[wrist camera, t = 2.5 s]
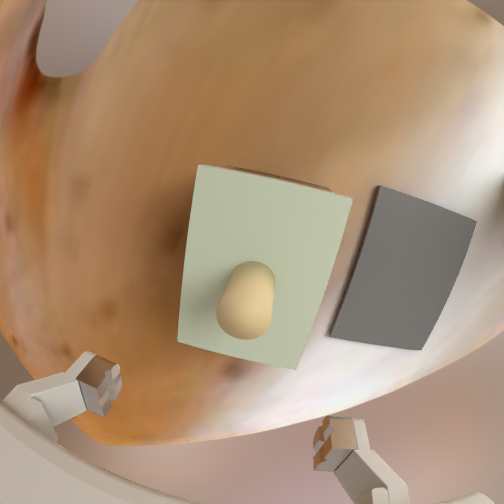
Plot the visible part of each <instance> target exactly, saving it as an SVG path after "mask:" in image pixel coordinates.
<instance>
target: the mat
mask: <svg viewBox="0 0 504 504" xmlns="http://www.w3.org/2000/svg"><path fill="white" fill-rule="evenodd" d="M475 226H476V221H474V220H472V219H469V218H467V217H465V216H462V215H460V214H457V213H455V212H452V211H450V210H447V209H445V208H442V207H440V206H437V205H434V204H432V203H429V202H426V201H423V200H421V199H418V198H415V197H412V196H409V195H406V194H404V193H401V192H398V191H395V190H392V189H388V188H385V187H382V186H378V190H377V193H376V197H375V201H374V205H373V208H372V212H371V215H370V219H369V222H368V225H367V229H366V232H365V235H364V239H363V242H362V245H361V248H360V251H359V254H358V257H357V260H356V263H355V266H354V269H353V272H352V275H351V278H350V281H349V284H348V286H347V289H346V292H345V295H344V297H343V300H342V303H341V305H340V308H339V310H338V313H337V316H336V318H335V321H334V323H333V326H332V328H331V331H330V333H329V334H330V337H334V338H340V339H346V340H352V341H358V342H364V343H370V344H377V345H383V346H390V347H398V348H405V349H413V350H422V348H423V346H424V344H425V343H426V341H427V339H428V337H429V335H430V333H431V331H432V330H433V328H434V326H435V324H436V322H437V320H438V318H439V316H440V314H441V312H442V310H443V308H444V305H445V303H446V301H447V299H448V297H449V295H450V292H451V290H452V288H453V285H454V283H455V281H456V278H457V276H458V273H459V271H460V268H461V266H462V263H463V261H464V258H465V255H466V252H467V250H468V247H469V244H470V241H471V238H472V235H473V232H474V229H475Z"/></svg>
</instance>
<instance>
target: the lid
mask: <svg viewBox="0 0 504 504" xmlns="http://www.w3.org/2000/svg"><path fill="white" fill-rule="evenodd" d="M352 201H353V199H352V198H350V197H348V196H344V195H340V194H337V193H333V192H329V191H325V190H321V189H317V188H313V187H309V186H305V185H301V184H297V183H293V182H288V181H284V180H280V179H275V178H271V177H266V176H261V175H257V174H252V173H247V172H242V171H237V170H232V169H226V168H221V167H215V166H210V165H204V164H201V165H198V168H197V174H196V180H195V187H194V193H193V200H192V207H191V213H190V221H189V228H188V236H187V244H186V252H185V261H184V270H183V279H182V289H181V300H180V311H179V324H178V338H177V342H180V343H184V344H187V345H191V346H194V347H198V348H202V349H205V350H209V351H213V352H217V353H221V354H225V355H229V356H233V357H237V358H241V359H245V360H250V361H254V362H259V363H264V364H268V365H273V366H278V367H283V368H289V369H294V370H296V368H297V366H298V363H299V361H300V358H301V356H302V353H303V351H304V348H305V346H306V343H307V340H308V338H309V335H310V332H311V330H312V327H313V324H314V322H315V319H316V316H317V313H318V310H319V308H320V305H321V302H322V299H323V296H324V293H325V290H326V287H327V284H328V281H329V278H330V275H331V272H332V269H333V266H334V263H335V260H336V256H337V253H338V250H339V247H340V243H341V240H342V237H343V233H344V230H345V226H346V223H347V219H348V216H349V212H350V208H351V205H352Z"/></svg>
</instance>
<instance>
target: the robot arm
mask: <svg viewBox="0 0 504 504" xmlns="http://www.w3.org/2000/svg"><path fill="white" fill-rule="evenodd" d="M119 372H120V366H119V365H118V364H116V363H114V362H111V361H109V360H107V359H105V358H102V357H100V356H98V355H96V354H94V353H91V352H89V351H85V352H83V353H82V355H81V356H80V357H79V358H78V359H77V360H76V361H75V362H74V363H73V365H72V366H71V367H70V368H69V369H68V370H67V371H66V372H65V373H63V372H60V373H57V374H54V375H50V376H47V377H44V378H40V379H37V380H33V381H30V382H26V383H23V384H19V385H17V386H16V387H15V388H14V389H13V390H12V391H11V392H10V393H9V394H8V396H7V397H6V398H5V399H4V400H3V401H2V402H1V403H0V504H202V503H198V502H194V501H191V500H187V499H183V498H180V497H176V496H173V495H170V494H167V493H164V492H160V491H158V490H155V489H152V488H149V487H146V486H144V485H141V484H138V483H136V482H133V481H131V480H128V479H126V478H124V477H121V476H119V475H116V474H114V473H112V472H110V471H108V470H106V469H103V468H101V467H99V466H97V465H95V464H93V463H91V462H89V461H87V460H85V459H84V458H82V457H80V456H78V455H76V454H74V453H73V452H71V451H69V450H67V449H66V448H64V447H62V446H61V445H59V444H57V441H58V439H59V437H58V434H57V433H56V431H55V429H54V426H56V425H58V424H60V423H62V422H64V421H66V420H68V419H70V418H72V417H74V416H76V415H78V414H80V413H82V412H84V411H86V410H89V411H92V412H94V413H96V414H98V415H100V416H103V417H105V416H106V414H107V412H108V411H109V409H110V408H111V401H112V400H115V399H116V398H117V397H118V395H119V393H120V390H121V386H122V381H121V378H120V376H119V375H118V374H119ZM313 448H314V450H315V451H316V452H317V453H316V455H315V456H314V457H313V458H314V470H316V471H328V472H334V474H335V476H336V477H337V479H338V480H339V482H340V483H341V485H342V486H343V488H344V489H345V491H346V492H347V494H348V495H349V496H350V498H351V500H352V501H353V502H354V504H411V503H410V498H409V493H408V488H407V484H406V483H405V482H404V481H403V480H402V479H401V478H400V477H399V476H398V475H397V474H396V473H395V472H394V471H393V470H392V469H391V468H390V467H389V466H388V465H387V464H386V463H385V462H384V461H383V460H382V459H381V458H380V457H379V456H378V455H377V454H376V452H375V451H374V450H370V447H369V441H368V436H367V432H366V427H365V422H364V420H363V419H362V418H350V417H337V416H336V417H335V416H326V417H325V418H324V420H323V426H321V427H319V428H318V429H317V431H316V433H315V436H314V441H313ZM437 504H495V503H494V502H492V500H490V499H489V498H488V497H487V496H485V495H484V494H482V493H481V492H473V493H470V494H467V495H464V496H461V497H458V498H454V499H451V500H448V501H444V502H441V503H437Z"/></svg>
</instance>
